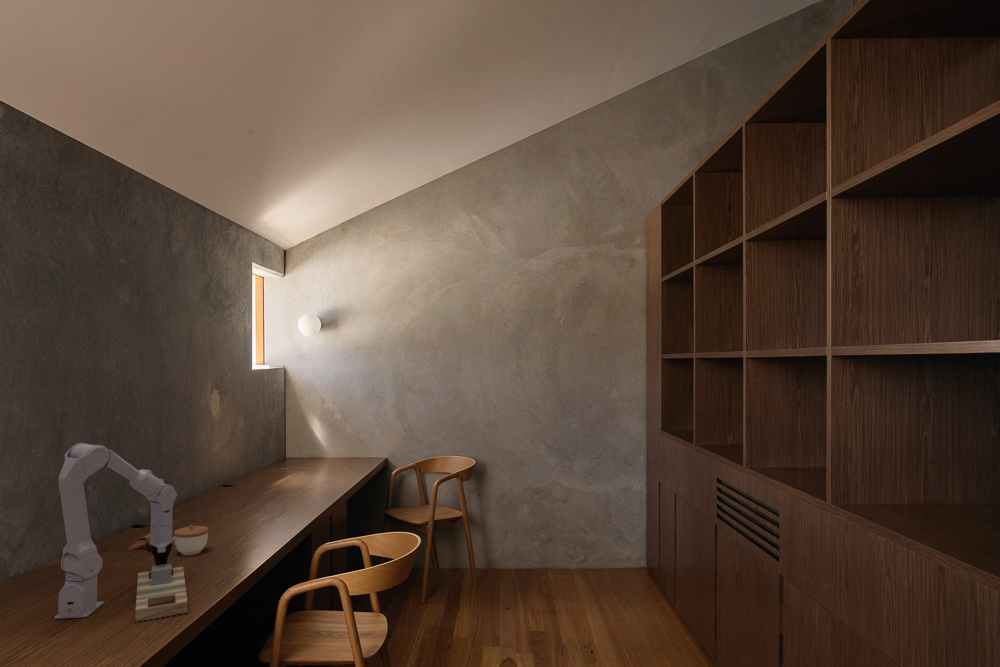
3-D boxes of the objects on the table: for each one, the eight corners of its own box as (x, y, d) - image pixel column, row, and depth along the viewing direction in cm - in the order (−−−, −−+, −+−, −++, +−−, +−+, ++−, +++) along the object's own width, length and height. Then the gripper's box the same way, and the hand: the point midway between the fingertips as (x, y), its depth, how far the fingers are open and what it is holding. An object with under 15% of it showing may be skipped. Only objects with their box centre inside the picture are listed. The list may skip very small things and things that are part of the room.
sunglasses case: (147, 537, 241) (156, 521, 241) (164, 546, 241) (173, 530, 242) (123, 552, 223) (134, 535, 223) (142, 562, 223) (152, 545, 224)
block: (171, 582, 185) (171, 568, 185) (151, 585, 183) (151, 571, 183) (170, 577, 190) (171, 563, 190) (151, 580, 187) (151, 566, 187)
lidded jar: (213, 547, 228) (213, 520, 228) (200, 557, 217) (200, 529, 218) (182, 548, 228) (182, 521, 228) (167, 557, 217) (168, 529, 217)
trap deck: (187, 613, 171) (187, 602, 171) (135, 622, 165) (135, 610, 165) (182, 576, 199) (182, 566, 199) (138, 582, 194) (138, 572, 194)
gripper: (177, 528, 188) (176, 575, 188) (175, 517, 201) (175, 561, 201) (149, 531, 185) (149, 579, 185) (150, 520, 198) (149, 564, 198)
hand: (161, 570), depth 193 cm, fingers closed
